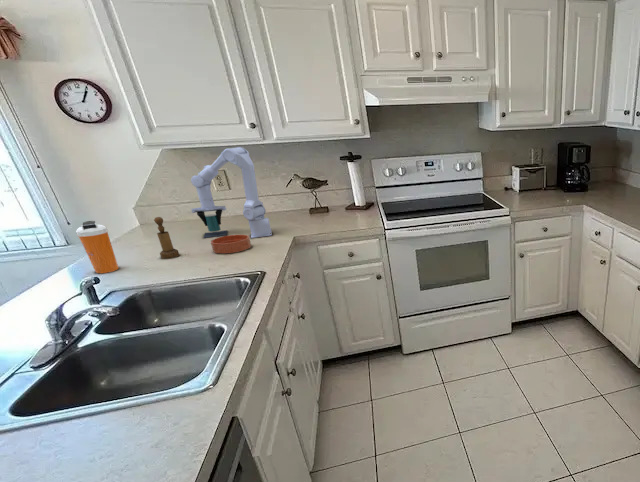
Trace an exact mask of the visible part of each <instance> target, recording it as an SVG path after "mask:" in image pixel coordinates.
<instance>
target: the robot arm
mask: <svg viewBox="0 0 640 482" xmlns="http://www.w3.org/2000/svg"><path fill="white" fill-rule="evenodd" d="M228 162H229V163H231V164H233V165H235V166H237V167H238V168H240V169H241V174H242V176H241V177H242V182H243V189H244V196H245V202H244V204H243V210H242V215H243V216H244V218H245V219H246V220H247V222H248V225H249V229H250V238H251V239H256V238H262V237H263V238H264V237H270V236H273V234H272V231H273V230H272V228H271V224H270V219H269V217H265V214H266V212H267V211H266V208H265V206H264V203H263V201H261V200H260V199H259V193H258V185H257V179H256V178H257V177H256V171H255V165H254V162H253V161H252V159H251V157H250V152H249V151H248V150H247V149H246V148H245V147H243V146H237V147H230V148H229V147H228V148H225V149H224V150H222V151H221V152H220V154H219V156H218V157H217V158H216V159H215V160H214V161H213V163H212V164H207V165H204V166H203V169H202V170H201V171H198V173H197V175H196V174H195V175H192V177H191V178H190V182H191V183H192V186H193V187H194V188H195V189H196V192H197V196H198V200H199V204H200V207H194V208H190V209H191V210H190V211H191V213H192V214H196V215H197V216H198V217H199V218H200V220H201V221H202V222H203V224H204V226H205V227H207V223H206V220H205V215H206V214H205V213H207V212H215V213H214V214H216V215H217V218H218V223H219V225H220V226H221V224H222V219H221V218H222V213H223V211H226V210H227V208H226V205H215V201H214V197H213V195H212V191H211V184H212V181H213V180H214V179H215V178H216V177H217V176H218V175H219V170H220V169H221V168H222V167H224V166H225V165H226V164H227V163H228ZM270 233H271V234H270Z"/></svg>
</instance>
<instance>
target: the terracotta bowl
mask: <svg viewBox="0 0 640 482" xmlns="http://www.w3.org/2000/svg"><path fill="white" fill-rule="evenodd" d="M250 238H251V237H250V235H248V234H230V235H229V234H227V236H219V237H215V238H212V240H210V246H211V248H212V253H213V252H214V253H216V254H234V253H239V252H243V251H246V250H249V249H250V248H252V243H251V239H250Z"/></svg>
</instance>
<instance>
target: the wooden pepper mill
mask: <svg viewBox="0 0 640 482" xmlns="http://www.w3.org/2000/svg"><path fill="white" fill-rule="evenodd" d="M153 220H154V223H155V224H156V225H157V226H158V227H157V229H158V231H159V232H157V233H156V235H157V238H158V241H159V243H160V247H161V251H160V252H159V255H160V258H161V259H162V260H169V259H175V258H178V257H180V252H179V250H178V249H176V248H174V245H173V242H172V240H171V237H170V233H169V231H166V230H165V226H163V224H164V219H163V218H162V217H161V216H156V217H154V219H153Z"/></svg>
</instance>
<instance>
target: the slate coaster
mask: <svg viewBox="0 0 640 482" xmlns="http://www.w3.org/2000/svg"><path fill="white" fill-rule="evenodd" d="M223 236H228V230H219V231H214V232H210V231H209V232H205V233H204V235H203V239H209V238H219V237H223Z"/></svg>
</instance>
